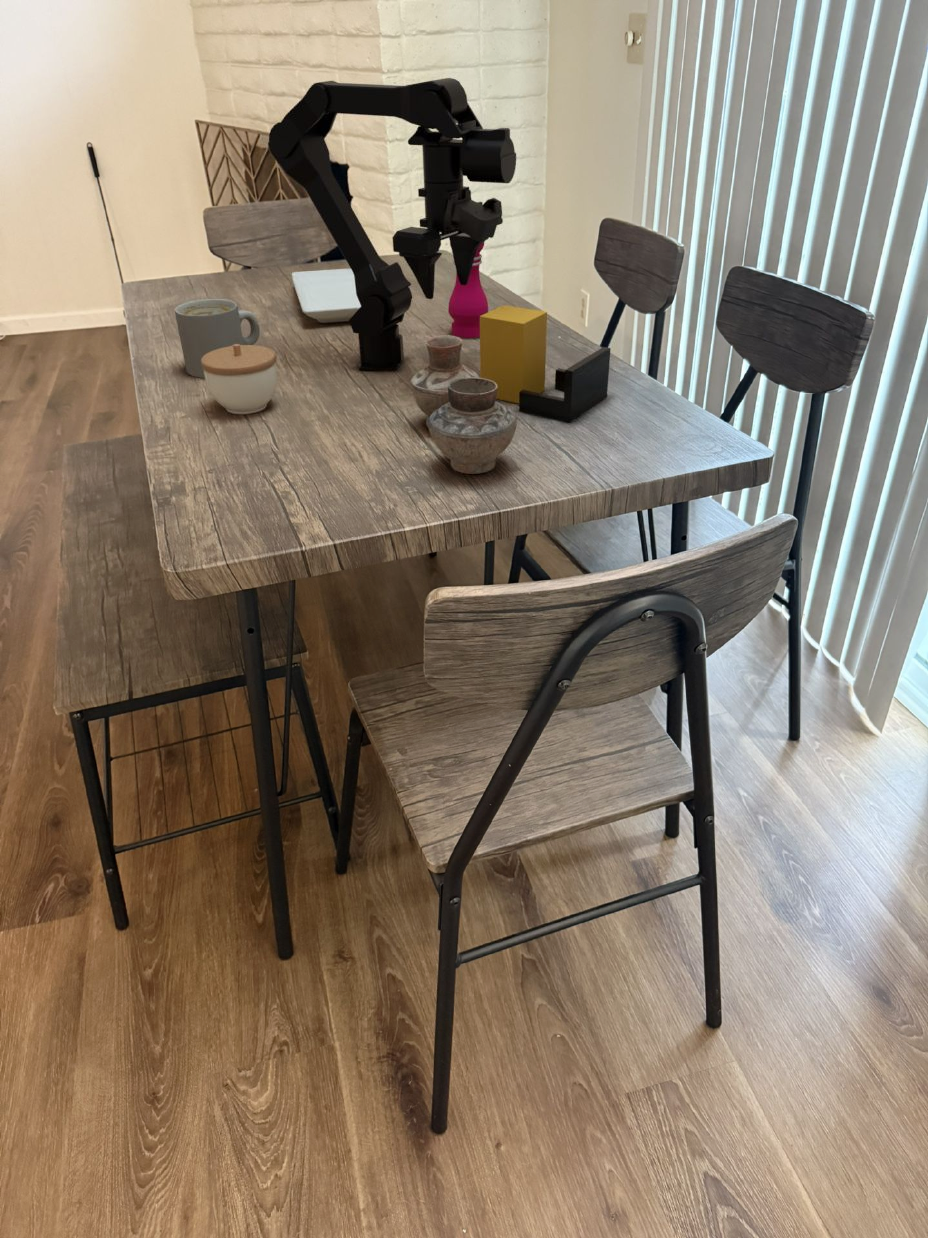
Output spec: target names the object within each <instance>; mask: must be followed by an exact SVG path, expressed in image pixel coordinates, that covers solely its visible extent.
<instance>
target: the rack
mask: <svg viewBox="0 0 928 1238" xmlns="http://www.w3.org/2000/svg"><path fill="white" fill-rule="evenodd" d="M610 361H611V347H606V346H602V347H601V348H599V349H597V350H596V351H594V352H593V353H591V354H589V355H588V356H586V357H584V358H583V359H581V360H579V361H577V362H576V363H574V364H573V365H571V366H569V367H568V368H566V369H564V368H557V369H555V373H554V374H555V376H554V378H555V379H554V389H555V390H558V391H563V397H559V396H554V395H550V394H544V393H536V392H531V391H526V390H521V391H520V392H519V404H518V412H520V413H525V414H529V415H533V416H538V417H542V418H547V419H552V420H556V421H561V422H565V423H572V422H573V421H575V420H576V419H578V418H579V417H581V416H582V415H583V414H585V413H587V412H588V411H589V410H590V409H592V408H594V407H595V406H597V405H598V404H599V403H601V402H602V401H605V399H606V398H608V391H609V390H608V388H609V375H610Z"/></svg>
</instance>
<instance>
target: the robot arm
mask: <svg viewBox="0 0 928 1238" xmlns="http://www.w3.org/2000/svg"><path fill="white" fill-rule="evenodd" d="M338 114H341V115H342V114H343V115H359V116H375V117H376V116H377V117H390V118H391V117H392V118H393V117H394V118H397V119H401V120H403V121H405V122H407V123H409V124H411V125H416V126H418V127H417V128H416V130H415V131H414V133H413V134H412V136H410V138H408V140H407V144H408V145H409V146H421V147H422V169H423V187H420V188H418V189H417V192H418V193H417V194H418V198H419V197H420V198H424V215H425V217H423V218H420V219H419V227H417V226H409V227H405V228H402V229H398V230H397V231H396V232H395V233H394V235H393V236H392V251H393V252H394V253H398V255H399V257H401V258H403V259H404V260H405V262H406V264H407V266H408V268H410V270H411V272H412V274H413V275H414V277H415V279H416V281H417V283H418V285H419V287H420V289H421V291H422V293H423V295H424V297H425V299H428V300H432V299H434V294H435V277H436V276H435V272H436V271H435V270H436V263H437V261H439V259H440V257H441V256H442V254H443V253H442V252H439V251H440V248H441V246H442V241H443V240H446V239H449V245H450V244H451V246H450V249H451V253H452V258H453V257H454V258H453V262H455V264H454V266H455V272H456V271H457V275H458V279H459V282H460V284H461V285H467V283H468V279H469V275H470V272H471V268H472V265H473V261H474V258H475V255H476V252H477V249H478V247H479V246H480V245H481V244H482V243H483V242H484V241H485V242H486V241H487V240H489V238H490V239H493V238H494V237H495V234H496V229H497V227H498V226H500V225H502V224H503V222H504V219H503V207H502V205H503V204H502V201H501V200H499V199H498V198H496V197H491V198H488V199H486V200H485V201H484V203H483V202H482V201H475V200H473V199H472V190H471V189H470V186H464V177H466V178H467V179H468V180H467V181H470V182H473V183H487V184H488V183H489V184H491V183H492V184H510V183H511V182H512V180H513V178H514V175H515V173H516V168H517V167H516V166H517V152H516V151H515V145H514V142H513V140H512V138H511V129H510V128H509V127H500V128H484V127H483V126H482V124H481V122H480V120H479V119H478V117H477V115H476V114H475V112H474V111H473V109H472V107H471V106H470V104H469V103H468V96H467V93H466V90H465V88H464V86H463V85H462V83H461V82H460V80H458V79H456V78H452V77H445V78H440V79H439V78H438V79H433V80H428V81H427V80H426V81H423V82H422V81H421V82H416V83H411V84H407V85H394V84H393V85H392V84H373V83H372V84H370V83H352V82H351V83H350V82H337V81H335V80H326V81H318V82H314V83H313V84H312V85H310V87H309V88H308V90H307V91H306V93H305V94H304V95H303V97H302V98H301V99H300V100H299V101H298V102H297V103H296V104H295V105H294V106H293V107H292V108H291V109H289V111H288V112H287V113H286V114H285V115H284V116H283V118H282V119H281V121H280V122H277V123H275V124H274V125H273V126H271V129H270V130H269V134H268V143H267V146H268V151H269V152H270V154H271V155H270V156H272V157H273V159H274V160H275V162H276V163H277V164H278V166H279V167H280V168H281V169H282V170H283V172H284V174H285V175H287V176H288V177H289V178H291V180H293V181H295V182H296V183H297V184H298V185H299V186H301V187H302V188H303V190H304V191H305V192H306V194H307V195H308V198H309V199H310V201H311V202H312V204H313V206H314V208H315V210H316V211H317V213H318V215H319V217H320V218H321V220H322V221H323V223H324V224H325V226H326V228H327V230H328V232H329V233H330V235H331V237H332V239H333V240H334V242H335V244H336V246H337V247H338V249H339V251H340V252H341V254H342V256H343V258H344V259H345V261H346V263H347V264H348V267H349V269H351V270H352V272H353V274H354V278H355V288H356V295H357V297H358V300H359V302H360V305H361V307H360V308H359V309H358V310H357V312H356V313H355V314H354V315H353V316H352V317H351V318H350V320H349V321H348V322H349V325H350V327H351V331H352V333H353V334H357V335H358V346H359V359H360V363H359V364H358V367H357V368H358V370H360V371H397V370H399V367H400V365H401V364H402V363H403V361H404V359H405V355H404V352H405V351H404V338H403V337H404V335H403V334H402V333H400V329H399V327H400V326H399V324H400V323H402V322H403V321H404V318H405V313H407V311H409V309H410V307H411V305H412V300H413V294H412V290H411V289H410V287H411V286H412V283H411V282H410V281H409V280H408V279H407V277H406V276H405V275H404V271H403V269H402V267H401V265H400V264H399V263H398V262H397V261H395V262H393V263H391V264H389V263H387V262H386V261H385V260H383V259H382V258H381V257H380V255H379V254H378V252H377V250H376V248H375V247H374V244H373V243H372V241H371V240H370V237H369V235H368V234H367V233H366V231H365V229H364V227H363V226H362V224H361V221H360V219H359V218H358V216H357V214H356V213H355V211H354V209H353V208H352V206H351V204H350V202H349V200H348V199H347V197H346V195H345V193H344V192H343V190H342V188H341V186H340V184H339V182H338V181H337V179H336V178H335V175H334V173H333V171H332V165H331V159H330V158H331V156H330V150H329V147H328V144H327V141H326V140H325V138H326V137H327V136H328V135H329V134H330V132H331V130H332V129H333V126H334V124H335V121H336V117H337V115H338ZM433 130H436V131H433ZM485 242H484V243H485Z"/></svg>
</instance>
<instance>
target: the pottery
mask: <svg viewBox="0 0 928 1238" xmlns="http://www.w3.org/2000/svg"><path fill="white" fill-rule="evenodd" d="M425 346H426V350H427V353H428V359H429V365H427V366H425V367H424V368H423V369H421V370H420V371H418V372H417V373H416V374H415V375H413V377H412V378H411V379H410V381H409V386H410V389H411V392H412V395H413V398H414V400H415V402H416V403H415V404H416V405H417V406H418V408H419V410H421V412H422V413H423V414H424V415H425V416H427V418H426V422H425V425H426V427H427V428H428V430H429V434H430V436H431V438H432V441H433V442H434V444H435V445H436V447H437V448H438V449H439V451H440V452H441V453H442V454H443V455H444V456H445V457H446V458H448V459H449V460H450V467H451V468H452V469H453V470H454V471H456V472H458V473H462V474H469V475H471V474H472V475H475V474H476V475H477V474H485V473H487V472H490V471H492V470H493V469H494V468H495V466H496V458H498V457H500V456H501V455H502V454H503V453H504V452H505V451H506V449H507V448H508V447H509V446H510V444H511V442H512V441H513V438H514V436H515V433H516V429H517V424H518V417H517V415H516V413H515V411H513V410H512V409H510V408H509V407H507V406H506V405H504V404H502V403H500V402H498V401H496V400H497V399H496V397H497V387H498V386H497V384H496V383H495V382H493V381H492V380H488V379H484V378H480V375H478V373H476V372H475V371H474V370H472V369H471V368H469V367H468V366H466V365H464V364H462V363H461V352H462V348H463V338H460V337H456V336H454V335H448V334H447V335H446V334H445V335H436V336H431V337H429V338H427V339H426V340H425Z"/></svg>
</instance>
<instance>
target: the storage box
mask: <svg viewBox="0 0 928 1238" xmlns="http://www.w3.org/2000/svg"><path fill="white" fill-rule="evenodd" d="M547 328H548V311H543V310H537V309H532V308H524V307H518V306H513V305H506V304H503V305H501V306H499V307H497V308H495V309H492V310H490V311H488V313H486V314H484V315H481V316H480V337H479V373H480V374H479V377H480V378H484V379H488V380H492V381H493V382H495V383H496V384H497V386H498V387H497V397H496V400H500V401H505V402H508V403H513V404H518V405H519V392H520V391H521V390H526V391H531V392H536V393H541V394H543V392H545V388H546V361H547V360H546V357H547V333H548V332H547Z"/></svg>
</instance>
